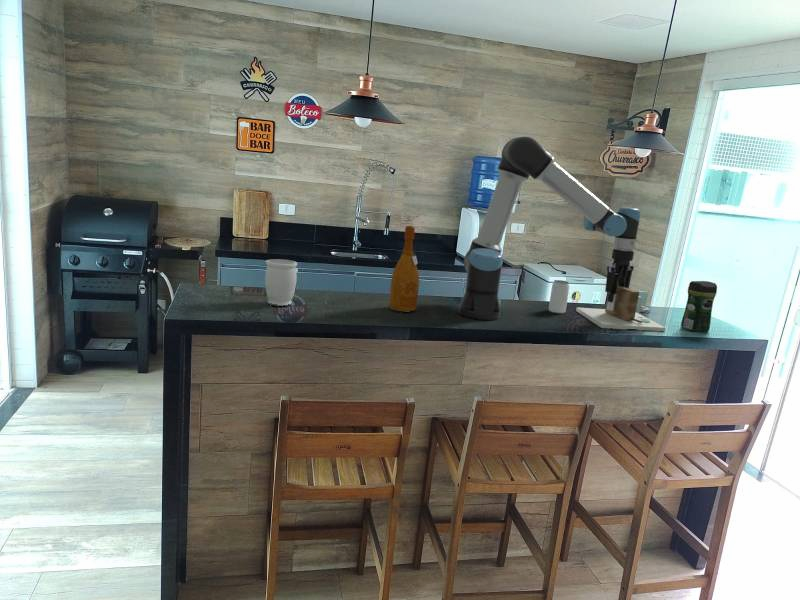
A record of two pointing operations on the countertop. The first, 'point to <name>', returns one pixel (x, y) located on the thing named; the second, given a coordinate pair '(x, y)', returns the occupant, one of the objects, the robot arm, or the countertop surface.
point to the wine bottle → (405, 277)
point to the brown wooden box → (625, 304)
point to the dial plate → (618, 320)
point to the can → (559, 296)
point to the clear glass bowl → (642, 302)
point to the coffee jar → (699, 306)
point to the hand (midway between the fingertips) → (613, 309)
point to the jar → (280, 281)
